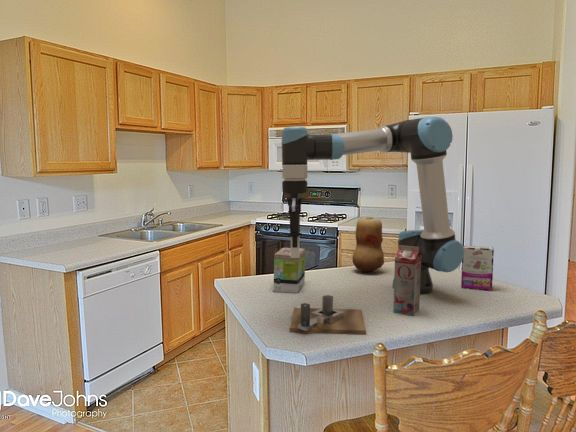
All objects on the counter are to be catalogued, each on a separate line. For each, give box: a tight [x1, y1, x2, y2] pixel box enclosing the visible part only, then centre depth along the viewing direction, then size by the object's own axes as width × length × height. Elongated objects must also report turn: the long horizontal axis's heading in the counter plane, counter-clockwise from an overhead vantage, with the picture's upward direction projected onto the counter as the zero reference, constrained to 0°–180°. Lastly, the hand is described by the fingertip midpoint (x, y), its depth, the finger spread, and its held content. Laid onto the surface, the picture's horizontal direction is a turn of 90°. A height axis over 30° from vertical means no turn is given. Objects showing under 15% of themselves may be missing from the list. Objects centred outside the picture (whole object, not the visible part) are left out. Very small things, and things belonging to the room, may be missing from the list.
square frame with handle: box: [298, 302, 344, 331], centre depth 130 cm, size 16×7×7 cm, turn 139°
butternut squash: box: [352, 216, 385, 273], centre depth 194 cm, size 14×13×25 cm
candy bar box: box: [460, 245, 495, 292], centre depth 169 cm, size 11×5×16 cm, turn 68°
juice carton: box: [392, 245, 421, 317], centre depth 142 cm, size 7×7×22 cm
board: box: [288, 294, 367, 335], centre depth 133 cm, size 22×18×8 cm
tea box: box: [273, 247, 306, 294], centre depth 171 cm, size 15×10×15 cm, turn 168°
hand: (295, 257), depth 132 cm, fingers closed
